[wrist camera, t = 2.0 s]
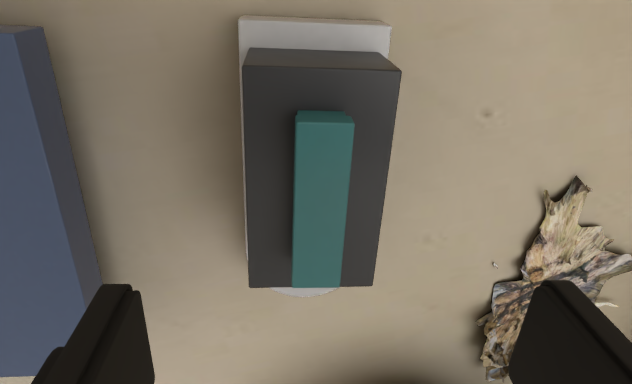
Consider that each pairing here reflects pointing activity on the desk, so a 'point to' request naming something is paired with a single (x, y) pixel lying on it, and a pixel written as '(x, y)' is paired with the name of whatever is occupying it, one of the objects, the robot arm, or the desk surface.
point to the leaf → (549, 273)
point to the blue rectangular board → (38, 211)
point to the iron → (314, 149)
